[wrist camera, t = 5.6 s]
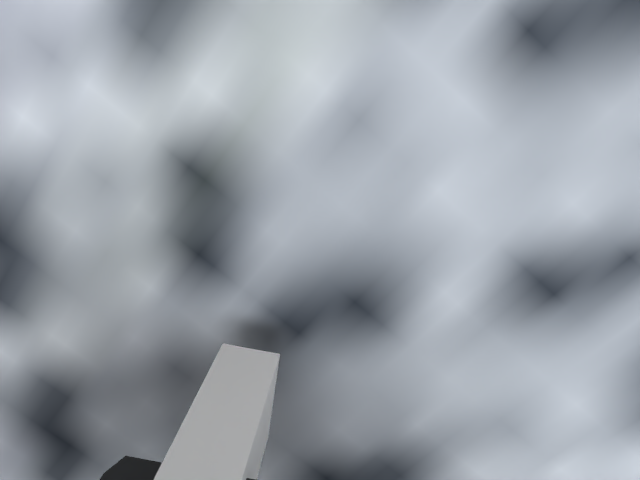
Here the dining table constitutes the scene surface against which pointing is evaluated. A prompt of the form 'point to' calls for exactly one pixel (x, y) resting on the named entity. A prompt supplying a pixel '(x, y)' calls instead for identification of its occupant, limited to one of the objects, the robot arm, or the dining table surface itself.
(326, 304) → the dining table surface
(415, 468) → the dining table surface
